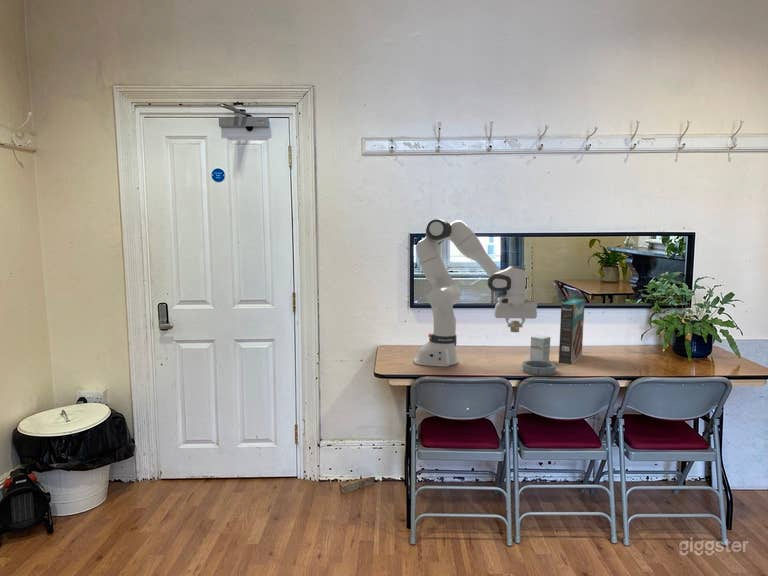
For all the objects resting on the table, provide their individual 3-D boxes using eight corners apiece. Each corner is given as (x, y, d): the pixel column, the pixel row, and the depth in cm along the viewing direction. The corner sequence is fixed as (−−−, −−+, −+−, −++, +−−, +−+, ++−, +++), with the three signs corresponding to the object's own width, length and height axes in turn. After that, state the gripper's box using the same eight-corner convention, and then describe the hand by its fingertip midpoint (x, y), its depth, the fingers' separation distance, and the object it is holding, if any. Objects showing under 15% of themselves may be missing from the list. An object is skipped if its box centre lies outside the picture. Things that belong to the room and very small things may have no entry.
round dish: (526, 375, 246) (526, 368, 245) (519, 366, 261) (519, 359, 260) (559, 376, 245) (559, 368, 245) (550, 367, 260) (551, 360, 259)
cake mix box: (570, 364, 266) (573, 304, 262) (558, 362, 269) (561, 303, 265) (581, 355, 284) (584, 299, 280) (570, 353, 287) (572, 298, 283)
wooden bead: (511, 332, 260) (511, 321, 259) (509, 330, 264) (510, 320, 264) (519, 332, 260) (520, 322, 259) (518, 330, 264) (518, 320, 263)
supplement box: (529, 360, 272) (530, 336, 271) (536, 358, 278) (537, 334, 276) (542, 363, 267) (543, 338, 266) (549, 360, 272) (550, 336, 271)
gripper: (536, 298, 263) (534, 326, 264) (494, 298, 264) (493, 325, 265) (539, 300, 256) (537, 328, 258) (496, 299, 257) (495, 328, 259)
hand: (514, 327), depth 262 cm, fingers closed on wooden bead, 4 cm apart
